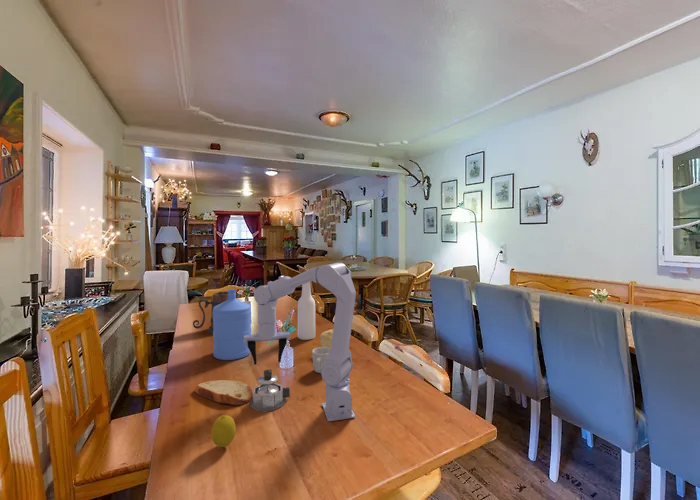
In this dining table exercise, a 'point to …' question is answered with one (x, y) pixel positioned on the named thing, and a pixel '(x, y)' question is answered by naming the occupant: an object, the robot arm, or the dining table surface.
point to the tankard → (216, 300)
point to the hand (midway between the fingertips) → (267, 362)
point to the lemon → (223, 431)
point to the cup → (320, 358)
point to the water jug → (231, 328)
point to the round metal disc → (266, 408)
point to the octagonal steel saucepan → (270, 397)
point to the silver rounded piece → (267, 384)
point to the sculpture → (326, 338)
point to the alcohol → (306, 314)
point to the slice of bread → (225, 391)
